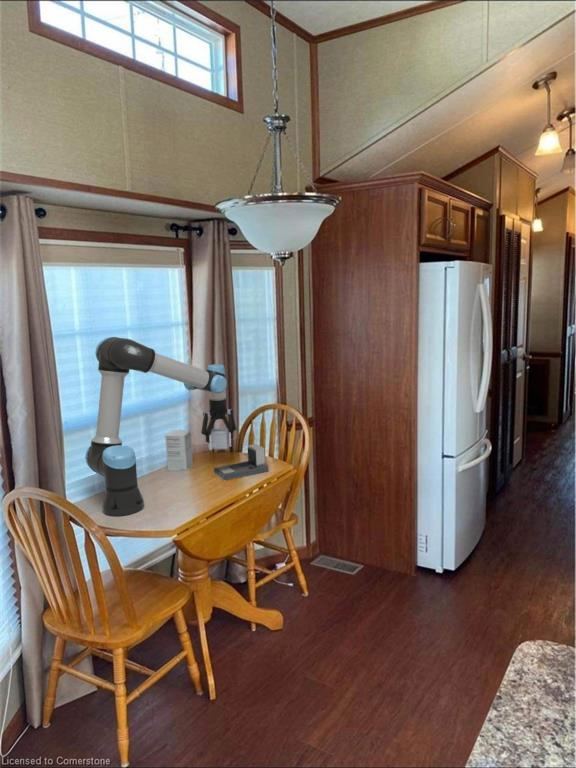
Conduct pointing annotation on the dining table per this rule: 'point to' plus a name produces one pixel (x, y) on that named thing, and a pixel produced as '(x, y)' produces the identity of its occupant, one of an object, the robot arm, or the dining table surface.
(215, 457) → the dining table surface
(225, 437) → the medicine box
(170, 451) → the supplement box
